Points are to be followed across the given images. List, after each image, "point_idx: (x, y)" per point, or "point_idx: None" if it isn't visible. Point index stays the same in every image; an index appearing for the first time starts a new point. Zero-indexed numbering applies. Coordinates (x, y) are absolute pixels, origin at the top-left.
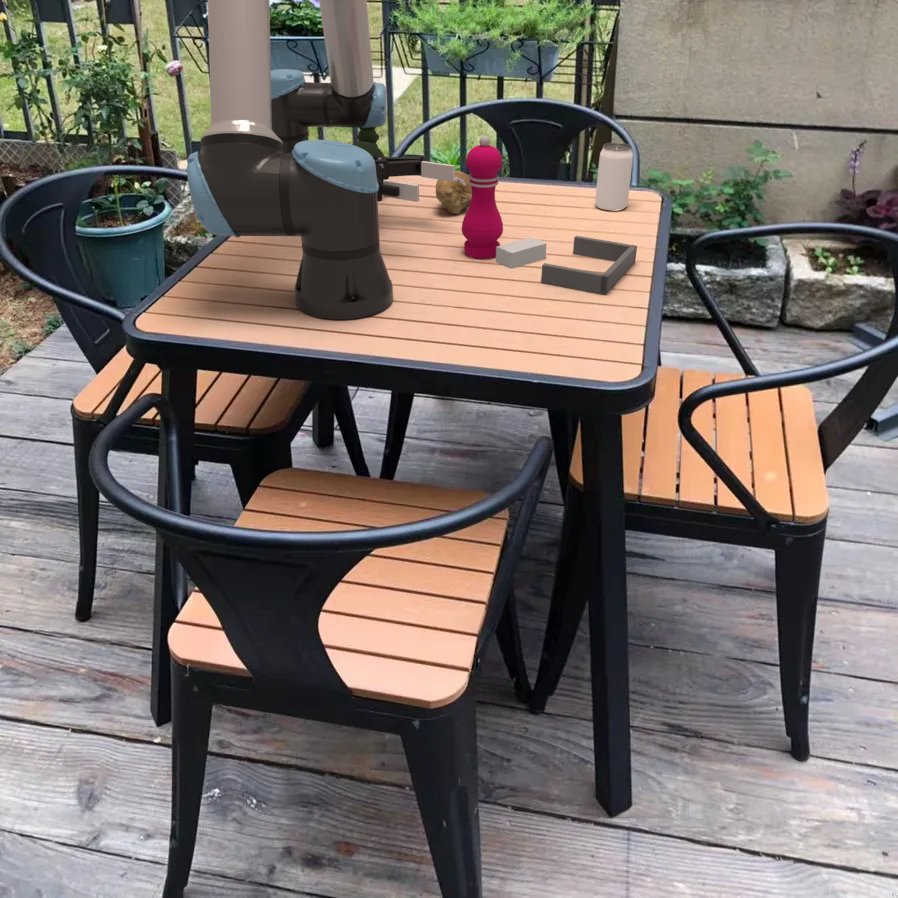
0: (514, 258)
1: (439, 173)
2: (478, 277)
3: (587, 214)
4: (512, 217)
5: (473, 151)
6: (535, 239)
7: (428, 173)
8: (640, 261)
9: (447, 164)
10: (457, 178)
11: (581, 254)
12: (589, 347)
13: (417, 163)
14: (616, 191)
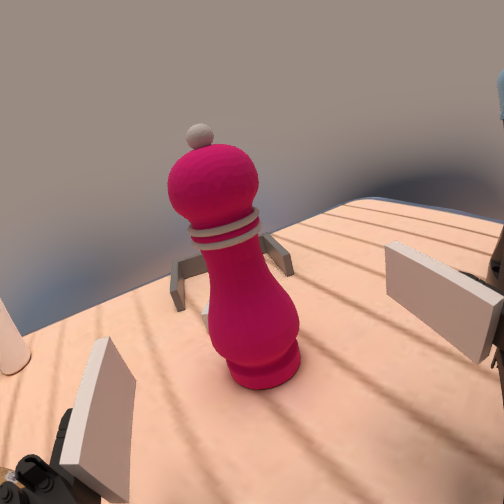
0: None
1: (118, 407)
2: (348, 301)
3: (40, 368)
4: None
5: (236, 148)
6: (207, 306)
7: (117, 457)
8: None
9: (88, 360)
10: (8, 478)
11: (184, 302)
12: (355, 214)
13: (76, 498)
14: (18, 332)
